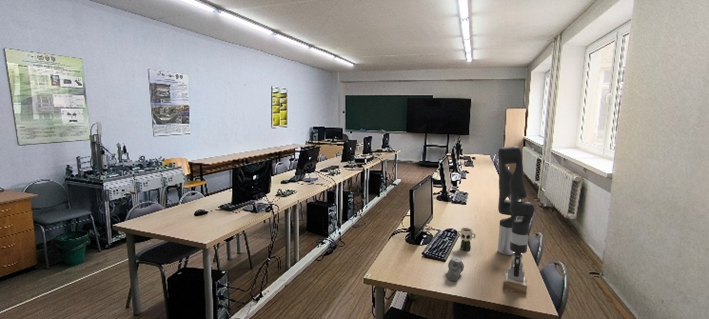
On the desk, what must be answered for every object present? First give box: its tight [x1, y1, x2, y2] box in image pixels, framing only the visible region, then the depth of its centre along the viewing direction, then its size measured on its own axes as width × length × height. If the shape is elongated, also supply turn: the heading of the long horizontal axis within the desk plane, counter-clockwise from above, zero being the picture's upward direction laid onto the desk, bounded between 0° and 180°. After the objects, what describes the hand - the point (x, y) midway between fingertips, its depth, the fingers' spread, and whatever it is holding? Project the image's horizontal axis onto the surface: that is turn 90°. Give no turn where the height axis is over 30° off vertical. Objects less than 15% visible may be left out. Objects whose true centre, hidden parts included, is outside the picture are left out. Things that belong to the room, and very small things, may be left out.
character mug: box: [456, 227, 476, 251], centre depth 208 cm, size 11×7×13 cm, turn 66°
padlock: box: [507, 259, 525, 281], centre depth 163 cm, size 7×4×10 cm, turn 57°
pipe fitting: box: [446, 256, 465, 282], centre depth 173 cm, size 12×8×10 cm, turn 153°
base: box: [503, 272, 528, 295], centre depth 164 cm, size 10×10×4 cm
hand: (516, 273), depth 163 cm, fingers open, 4 cm apart
